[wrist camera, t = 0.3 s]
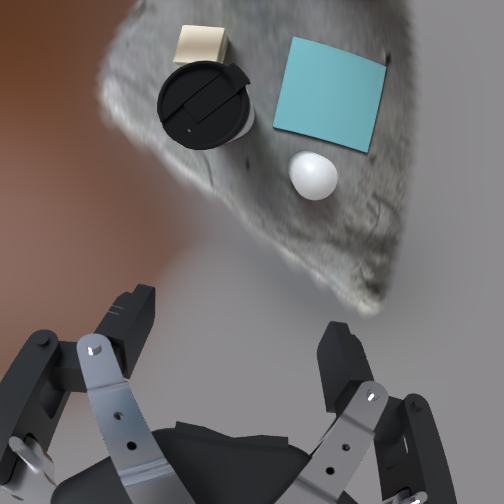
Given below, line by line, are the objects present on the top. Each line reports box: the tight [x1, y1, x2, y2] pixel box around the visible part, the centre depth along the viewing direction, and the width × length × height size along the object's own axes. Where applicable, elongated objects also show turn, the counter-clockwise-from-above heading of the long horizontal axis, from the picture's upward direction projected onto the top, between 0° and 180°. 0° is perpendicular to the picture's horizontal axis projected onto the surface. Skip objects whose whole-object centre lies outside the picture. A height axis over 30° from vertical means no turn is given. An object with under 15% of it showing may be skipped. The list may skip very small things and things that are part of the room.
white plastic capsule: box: [287, 151, 338, 200], centre depth 34 cm, size 5×5×7 cm
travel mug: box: [157, 60, 255, 150], centre depth 25 cm, size 6×7×20 cm
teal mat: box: [273, 37, 386, 153], centre depth 32 cm, size 13×13×1 cm
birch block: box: [174, 25, 229, 67], centre depth 28 cm, size 5×5×5 cm
